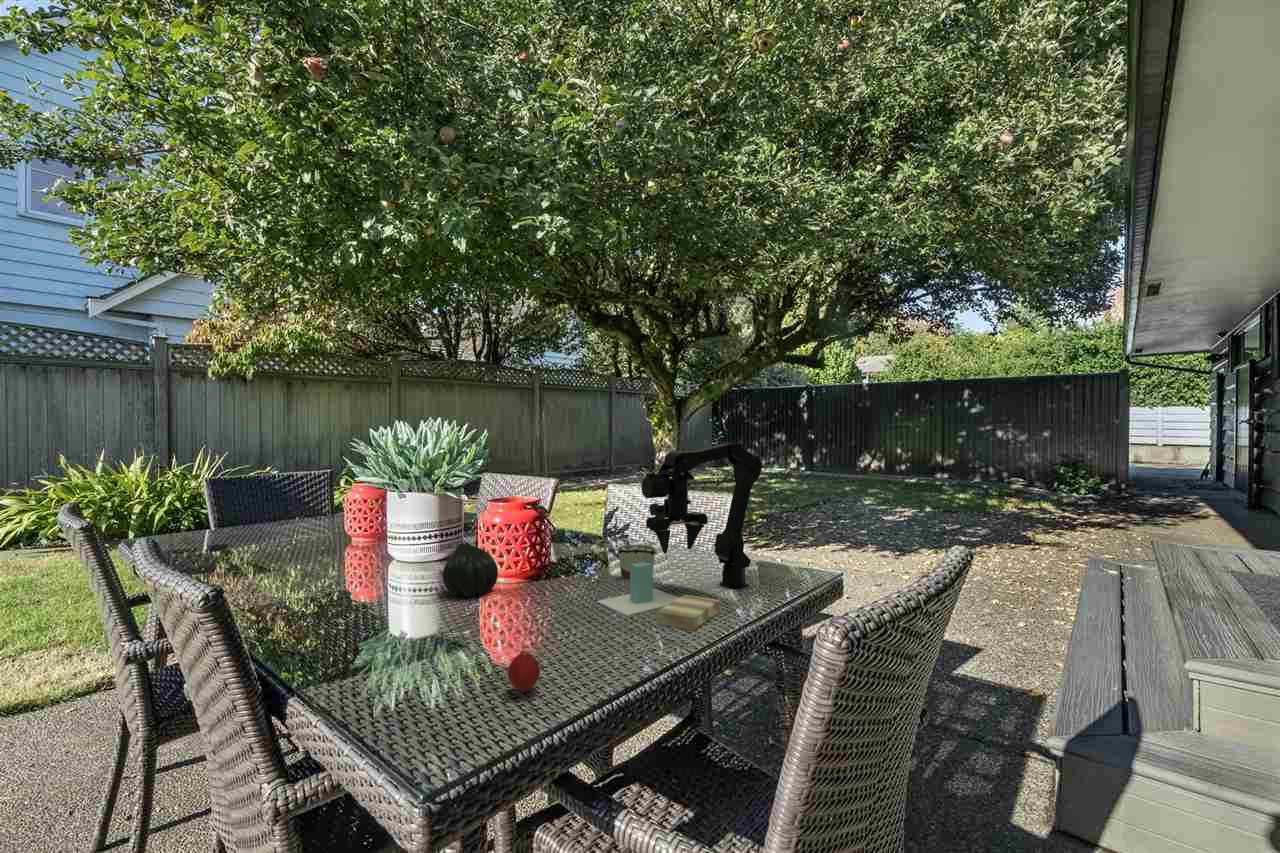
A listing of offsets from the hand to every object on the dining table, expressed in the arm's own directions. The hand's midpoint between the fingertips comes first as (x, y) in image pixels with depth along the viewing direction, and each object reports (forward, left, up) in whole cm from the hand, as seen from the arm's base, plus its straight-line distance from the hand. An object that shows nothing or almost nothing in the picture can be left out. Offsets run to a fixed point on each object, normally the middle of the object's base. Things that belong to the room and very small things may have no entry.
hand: (677, 551), depth 172 cm
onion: (+62, +28, -13) cm, 69 cm away
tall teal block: (+12, -1, -12) cm, 17 cm away
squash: (+46, -37, -13) cm, 60 cm away
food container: (-2, -21, -13) cm, 25 cm away
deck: (+10, +16, -13) cm, 23 cm away
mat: (+12, -1, -13) cm, 17 cm away
